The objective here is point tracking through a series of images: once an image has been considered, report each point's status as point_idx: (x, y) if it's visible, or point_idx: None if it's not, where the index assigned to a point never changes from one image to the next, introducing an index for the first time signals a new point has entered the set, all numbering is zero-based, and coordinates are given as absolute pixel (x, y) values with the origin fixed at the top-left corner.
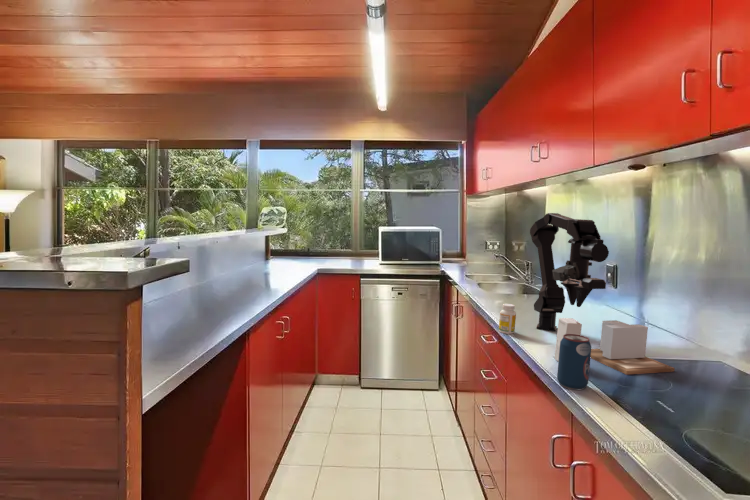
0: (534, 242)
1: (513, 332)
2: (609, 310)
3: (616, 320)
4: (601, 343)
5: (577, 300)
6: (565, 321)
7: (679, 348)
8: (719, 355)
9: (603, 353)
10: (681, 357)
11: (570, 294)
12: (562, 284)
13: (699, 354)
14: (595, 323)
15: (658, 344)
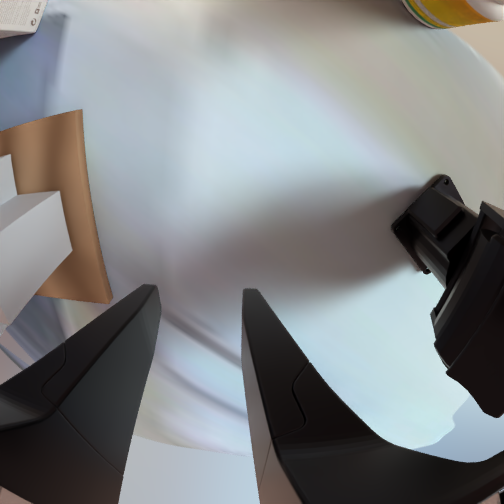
0: None
1: (403, 1)
2: (423, 442)
3: (7, 323)
4: (38, 200)
5: (109, 320)
6: None
7: (157, 418)
8: None
9: (2, 157)
10: None
11: (253, 374)
12: (468, 466)
13: None
14: (389, 399)
15: (186, 411)
